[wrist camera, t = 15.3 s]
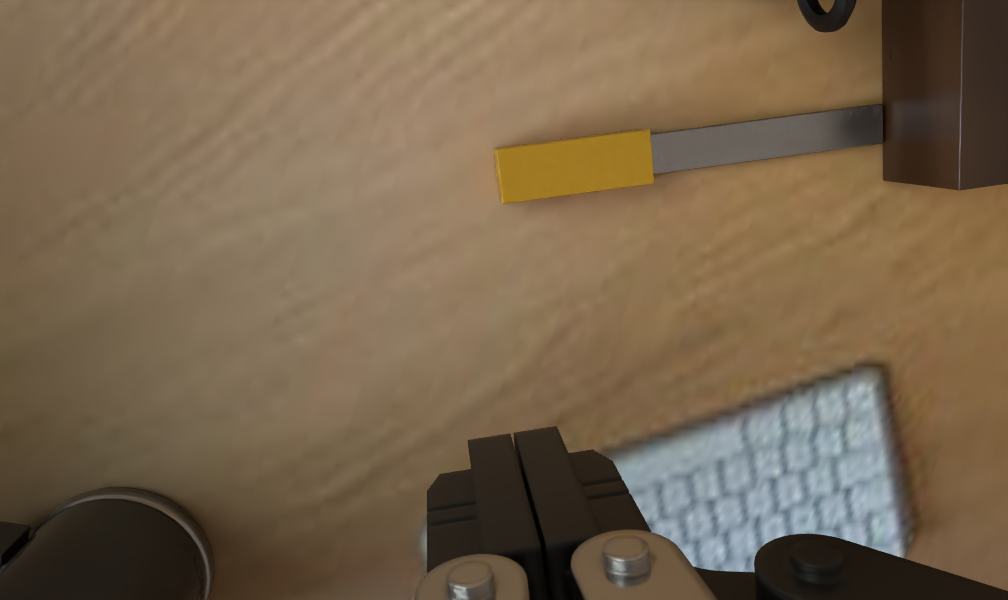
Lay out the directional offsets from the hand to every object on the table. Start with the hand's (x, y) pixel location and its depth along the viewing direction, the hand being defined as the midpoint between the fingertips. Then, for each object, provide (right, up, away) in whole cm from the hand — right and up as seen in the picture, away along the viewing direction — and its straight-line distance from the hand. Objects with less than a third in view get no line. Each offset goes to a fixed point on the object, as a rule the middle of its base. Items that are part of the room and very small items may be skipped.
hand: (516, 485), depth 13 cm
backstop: (+20, +19, +25) cm, 37 cm away
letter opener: (+9, +11, +26) cm, 30 cm away
